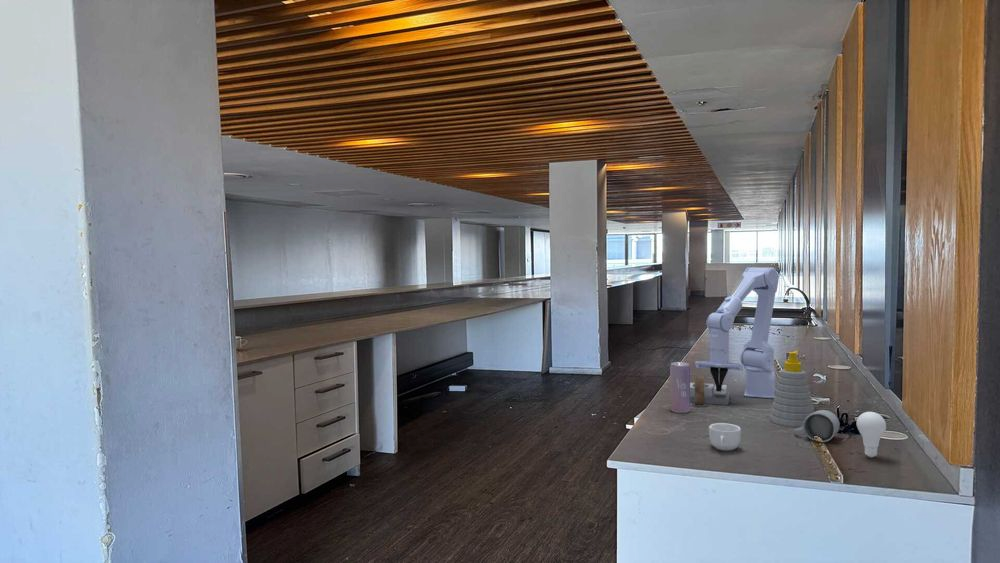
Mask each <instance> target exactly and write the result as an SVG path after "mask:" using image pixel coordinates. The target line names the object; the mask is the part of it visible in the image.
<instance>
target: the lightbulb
mask: <svg viewBox="0 0 1000 563" xmlns="http://www.w3.org/2000/svg"><path fill="white" fill-rule="evenodd" d="M856 427H857V430H858V432H859V434H860V436H861V438H862V442H863V447H864V454H865V455H866V456H867V457H868V458H874V457H876V456H878V448H879V444H880V440H881V439H882V437H883V435H884V433H885V432H886V429H887V423H886V420H885V418H884V417H883V416H882V415H881V414H879V413H877V412H874V411H865V412H863V413H861V414H860V415H859V416H858V417H857V419H856Z"/></svg>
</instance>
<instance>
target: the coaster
mask: <svg viewBox="0 0 1000 563" xmlns="http://www.w3.org/2000/svg"><path fill="white" fill-rule="evenodd" d="M706 406H707V407H708V405H707V403H704V405H703V406H698V405H695V403H693V402H692V407H694V408H695V407H696V408H706Z"/></svg>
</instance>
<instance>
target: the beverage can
mask: <svg viewBox="0 0 1000 563" xmlns="http://www.w3.org/2000/svg"><path fill="white" fill-rule="evenodd" d="M669 366H670V367H669V373H670V374H669V379H670V380H669V381H670V382H669V383H670V387H669V390H670V391H669V394H670V398H669V399H670V400H669V401H670V402H669V403H670V404H669V405H670V406H669V407H670V411H671V412H673V413H677V414H687V413H689V412H690V411H691V402H690V383H691V366H690V363H688V362H682V361H677V362H676V361H674V362H671V363H670V365H669Z"/></svg>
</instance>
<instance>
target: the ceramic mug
mask: <svg viewBox="0 0 1000 563" xmlns="http://www.w3.org/2000/svg"><path fill="white" fill-rule="evenodd" d="M839 420H840V419H839V418H838V417H837V415H836V414H835V413H834V412H832V411H829V410H826V409H820V410H816V411H814V413H812V414H810V415H808V416H807V417H806V419H805V420H804V423H803V426H802V427H796V428H794V430H793V432H794V434H795V436H804V435H805V436H807V437H808V439H810V440H811V439H812V441H813V439H814V436H818V437H820V438H822V440H823V443H827V442H829V441H831V440H832V439H833V438H834V437H835V435H836V434H837V433H838V432H839V430H840V426H841V425H840V421H839Z"/></svg>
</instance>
